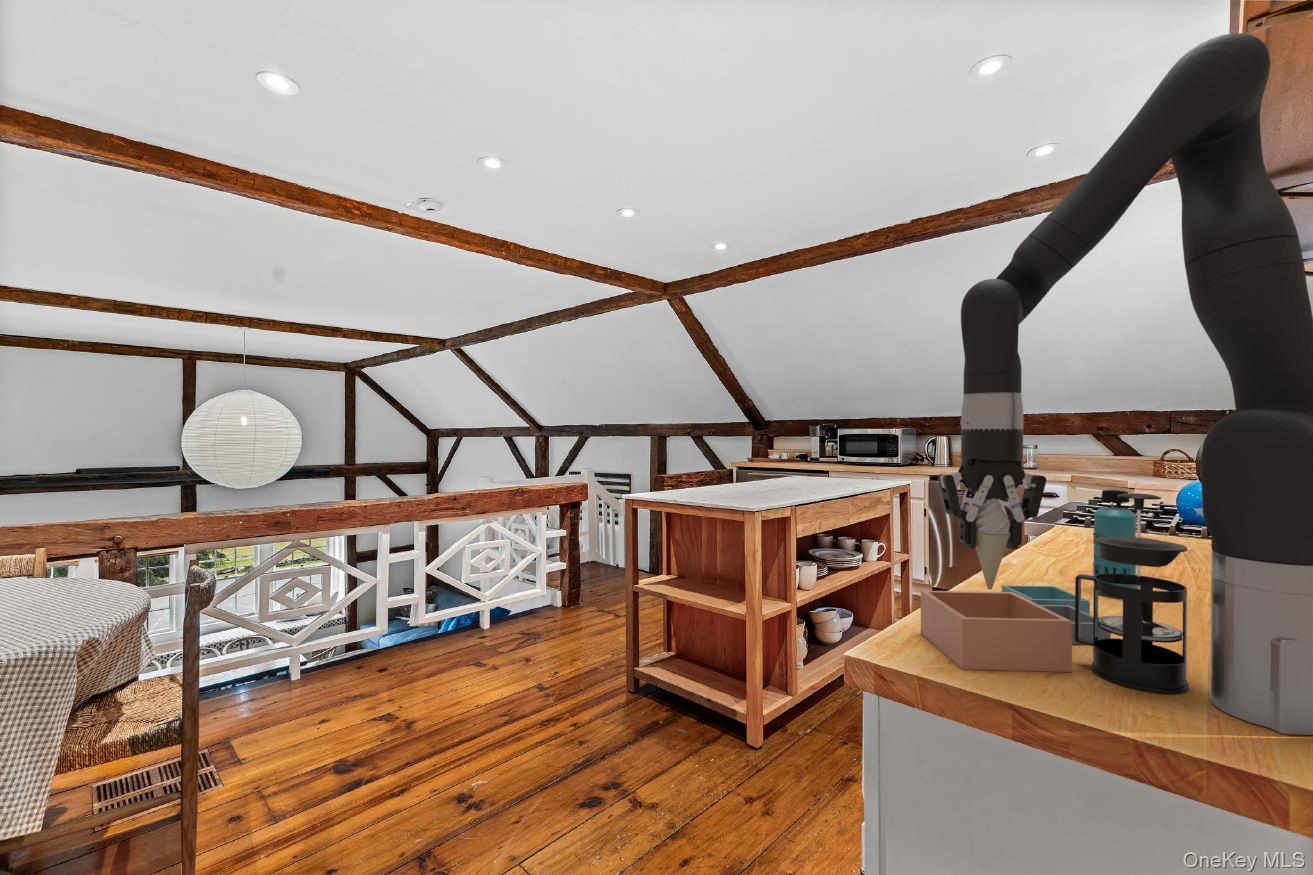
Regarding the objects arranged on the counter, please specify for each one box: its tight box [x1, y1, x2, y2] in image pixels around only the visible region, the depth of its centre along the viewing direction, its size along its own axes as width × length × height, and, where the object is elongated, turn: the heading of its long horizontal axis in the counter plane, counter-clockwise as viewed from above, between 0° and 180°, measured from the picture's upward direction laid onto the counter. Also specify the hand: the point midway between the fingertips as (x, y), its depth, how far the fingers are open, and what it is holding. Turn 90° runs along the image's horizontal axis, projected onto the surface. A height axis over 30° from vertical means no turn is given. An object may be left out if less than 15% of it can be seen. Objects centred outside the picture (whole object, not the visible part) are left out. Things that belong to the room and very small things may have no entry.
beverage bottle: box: [1092, 489, 1137, 589], centre depth 108 cm, size 6×7×20 cm
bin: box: [920, 590, 1073, 673], centre depth 81 cm, size 14×14×6 cm
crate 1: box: [1001, 584, 1091, 615], centre depth 100 cm, size 9×9×3 cm
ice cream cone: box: [973, 498, 1011, 591], centre depth 81 cm, size 5×5×15 cm
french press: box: [1074, 492, 1190, 695], centre depth 73 cm, size 12×9×23 cm
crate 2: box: [1040, 605, 1112, 645], centre depth 88 cm, size 9×9×3 cm
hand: (990, 547), depth 81 cm, fingers closed on ice cream cone, 5 cm apart
